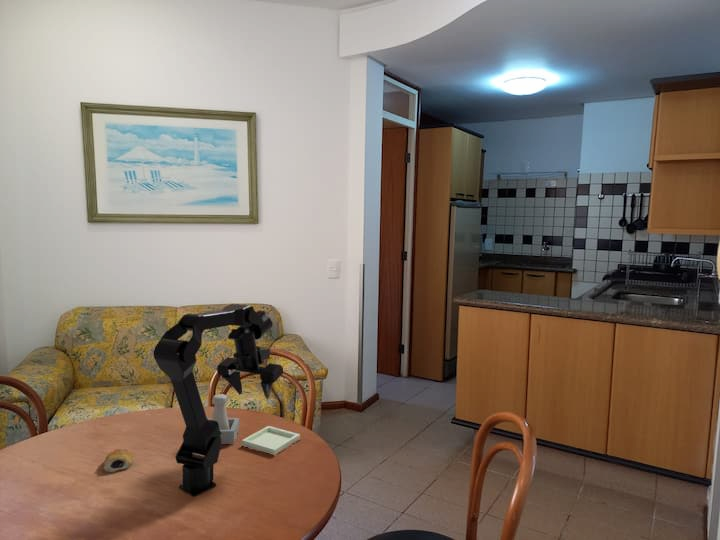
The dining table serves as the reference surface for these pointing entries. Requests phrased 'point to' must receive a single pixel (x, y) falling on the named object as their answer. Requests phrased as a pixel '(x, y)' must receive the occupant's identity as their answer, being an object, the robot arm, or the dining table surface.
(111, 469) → the pastry
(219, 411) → the salt shaker
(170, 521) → the dining table surface
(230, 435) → the holder
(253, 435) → the tray
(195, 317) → the robot arm
